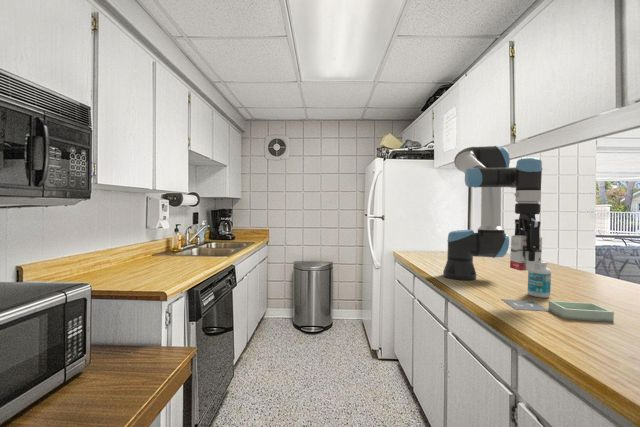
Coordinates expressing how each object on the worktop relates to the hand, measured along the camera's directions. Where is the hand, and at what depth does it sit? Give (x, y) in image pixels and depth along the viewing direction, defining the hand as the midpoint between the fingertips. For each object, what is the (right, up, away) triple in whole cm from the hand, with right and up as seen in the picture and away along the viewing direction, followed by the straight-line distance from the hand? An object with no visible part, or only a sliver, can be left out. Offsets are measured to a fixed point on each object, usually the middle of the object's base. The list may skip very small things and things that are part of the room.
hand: (525, 268), depth 115 cm
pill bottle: (+13, -13, +13) cm, 23 cm away
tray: (+11, -13, -11) cm, 20 cm away
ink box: (0, -1, 0) cm, 1 cm away
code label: (0, -13, 0) cm, 13 cm away
